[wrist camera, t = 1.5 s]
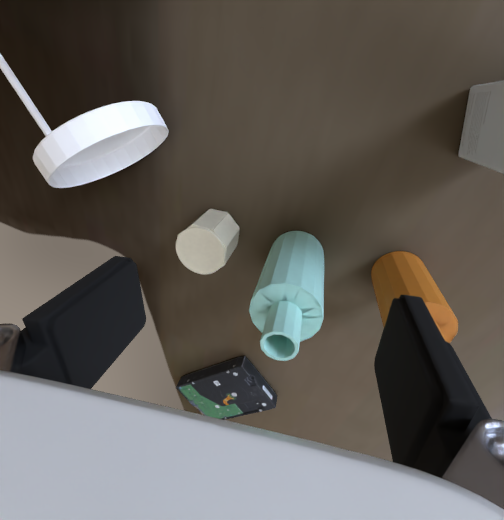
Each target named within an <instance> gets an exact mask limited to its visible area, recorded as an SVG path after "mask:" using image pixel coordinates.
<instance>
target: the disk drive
mask: <svg viewBox="0 0 504 520" xmlns="http://www.w3.org/2000/svg"><path fill="white" fill-rule="evenodd" d="M176 388H177V389H178V390H179V391H180V393H181V394H182V395H183V396H184V397H185V398H186V399H187V400H188V401H189V402H190V404H192V405H193V406H195V407H196V408H197V409H198V410H199V411H200V412H201V413H202V414H203V415H205V416H209V417H214V418H218V419H222V420H224V419H229V418H234V417H238V416H243V415H247V414H251V413H256V412H260V411H266V410H269V409H272V408H275V407H276V402H277V395H276V394H275V392H274V391H273V389H272V388H271V387H270V386H269V384H268V383H267V382H266V381H265V379H264V378H263V377H262V376H261V374H260V373H259V372H258V371H257V370H256V368H255V367H254V366H253V364H252V363H251V362H250V361H249V360H248V359H247V358H246V356H243V357H238V358H235V359H232V360H229V361H226V362H223V363H220V364H217V365H214V366H211V367H209V368H205V369H202V370H199V371H196V372H193V373H190V374H187V375H185V376H183V377H181V379H180V381H179V382H178V384H177V386H176Z"/></svg>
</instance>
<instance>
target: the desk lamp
mask: <svg viewBox="0 0 504 520" xmlns="http://www.w3.org/2000/svg"><path fill="white" fill-rule="evenodd" d="M0 68H1V70H2V71H3V73H4V74H5V76H6V77H7V79H8V80H9V82H10V83H11V85H12V86H13V88H14V89H15V91H16V92H17V94H18V95H19V97H20V98H21V100H22V101H23V103H24V104H25V106H26V107H27V109H28V110H29V112H30V113H31V115H32V116H33V118H34V119H35V121H36V122H37V124H38V125H39V127H40V128H41V130H42V131H43V133H44V134H45V136H46V137H45V138H44V139H43V140H42V141H41V142H40V143H39V144H38V146H37V147H36V149H35V151H34V155H33V161H34V164H35V165H36V166H37V168H38V169H39V171H40V172H41V174H42V175H43V177H44V178H45V179H46V181H47V182H48V184H49V185H50V186H52V187H56V188H68V187H74V186H79V185H83V184H86V183H90V182H93V181H96V180H99V179H101V178H104V177H106V176H109V175H111V174H114V173H116V172H118V171H120V170H122V169H124V168H126V167H128V166H130V165H132V164H134V163H135V162H137V161H139V160H140V159H142V158H144V157H145V156H146V155H148V154H149V153H151V152H152V151H153V150H155V149H156V148H157V147H158V146H159V145H160V144H161V143H162V142H163V141H164V140H165V139H166V137H167V136H168V132H169V130H168V128H167V126H166V124H165V123H164V121H163V119H162V117H161V115H160V114H159V112H158V110H157V108H156V107H155V106H154V105H152V104H150V103H148V102H143V101H126V102H120V103H114V104H110V105H107V106H103V107H100V108H97V109H94V110H92V111H89V112H87V113H84V114H81V115H79V116H77V117H76V118H74V119H72V120H70V121H68V122H66V123H64V124H63V125H61V126H60V127H58V128H57V129H55V130H53V131H51V129H50V128H49V126H48V125H47V123H46V122H45V120H44V118H43V117H42V115H41V114H40V112H39V111H38V109H37V108H36V106H35V105H34V103H33V102H32V100H31V99H30V97H29V96H28V94H27V93H26V91H25V90H24V88H23V87H22V85H21V84H20V82H19V81H18V79H17V78H16V76H15V74H14V73H13V71H12V70H11V68H10V67H9V65H8V64H7V62H6V61H5V59H4V58H3V56H2V55H1V53H0Z"/></svg>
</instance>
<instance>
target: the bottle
mask: <svg viewBox="0 0 504 520" xmlns="http://www.w3.org/2000/svg"><path fill="white" fill-rule="evenodd" d="M249 312H250V315H251V318H252V322H253V323H254V324H255V326H256V327H257V328H258V329H259V331H260V332H262V336H261V340H260V345H261V349H262V351H263V352H264V353H265V354H266V355H267V356H269V357H271V358H273V359H275V360H282V361H286V360H289V359H292V358H294V357H295V356H296V354H297V353H298V351H299V343H300V341H303V340H306V339H308V338H311V337H312V336H313V335H314V334H315V333H316V332H317V331H318V330H319V329H320V327H321V324H322V321H323V318H324V252H323V248H322V245H321V244H320V242H319V241H318V240H317V239H316V238H315V237H314V236H312V235H311V234H309V233H306V232H303V231H290V232H286V233H284V234H282V235H281V236H279V237H278V238H277V239H276V240H275V242H274V243H273V245H272V247H271V249H270V252H269V254H268V257H267V260H266V262H265V265H264V267H263V270H262V273H261V275H260V278H259V281H258V283H257V286H256V288H255V291H254V294H253V296H252V299H251V303H250V309H249Z"/></svg>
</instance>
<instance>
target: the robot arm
mask: <svg viewBox="0 0 504 520" xmlns="http://www.w3.org/2000/svg"><path fill="white" fill-rule="evenodd" d="M23 322H24V324H25V326H26V328H24V329H23V330H22V331H20V328H19V327H18V326H17V325H13V324H0V520H504V421H502V420H496V419H492V418H491V416H490V415H489V413H488V411H487V409H486V407H485V406H484V404H483V402H482V400H481V398H480V396H479V395H478V393H477V391H476V389H475V387H474V386H473V384H472V382H471V380H470V378H469V376H468V375H467V373H466V371H465V369H464V367H463V366H462V364H461V362H460V360H459V358H458V356H457V355H456V353H455V351H454V349H453V347H452V346H451V345H450V343H448V342H445V340H444V338H443V337H442V335H441V333H440V331H439V329H438V327H437V325H436V323H435V322H434V320H433V318H432V316H431V314H430V312H429V310H428V308H427V306H426V305H425V303H424V301H423V299H422V298H421V297H418V296H410V295H403V294H402V295H400V297H399V298H394V299H393V300H392V303H391V307H390V310H389V313H388V317H387V320H386V323H385V327H384V330H383V333H382V337H381V340H380V343H379V347H378V350H377V354H376V357H375V364H374V366H375V373H376V378H377V383H378V388H379V393H380V398H381V403H382V408H383V413H384V418H385V423H386V429H387V434H388V439H389V444H390V449H391V454H392V459H393V462H391V461H388V460H385V459H381V458H377V457H373V456H369V455H365V454H361V453H358V452H354V451H350V450H346V449H342V448H338V447H334V446H330V445H326V444H322V443H318V442H314V441H310V440H306V439H302V438H298V437H293V436H289V435H285V434H281V433H277V432H272V431H268V430H264V429H260V428H256V427H251V426H247V425H243V424H239V423H235V422H231V421H226V420H222V419H218V418H214V417H209V416H205V415H201V414H196V413H192V412H188V411H184V410H179V409H175V408H171V407H166V406H162V405H158V404H153V403H149V402H145V401H140V400H136V399H132V398H127V397H123V396H119V395H114V394H110V393H105V392H101V391H96V390H92V389H91V388H92V387H93V386H94V384H95V383H96V382H97V381H98V380H99V379H100V377H101V376H102V375H103V374H104V373H105V372H106V370H107V369H108V368H109V367H110V366H111V365H112V363H113V362H114V361H115V360H116V358H117V357H118V356H119V355H120V354H121V353H122V352H123V350H124V349H125V348H126V347H127V346H128V345H129V343H130V342H131V341H132V340H133V339H134V337H135V336H136V335H137V334H138V333H139V332H140V330H141V329H142V328H143V327H144V324H145V322H146V315H145V310H144V304H143V298H142V293H141V287H140V281H139V276H138V270H137V265H136V263H134V262H133V260H132V259H131V258H127V257H118V256H115V257H113V258H111V259H110V260H108V261H107V262H105V263H104V264H102V265H101V266H100V267H98V268H96V269H95V270H94V271H92V272H91V273H89V274H88V275H86V276H85V277H83V278H82V279H80V280H79V281H77V282H76V283H74V284H73V285H71V286H70V287H68V288H67V289H65V290H64V291H62V292H61V293H60V294H58V295H57V296H55V297H54V298H52V299H51V300H49V301H48V302H46V303H45V304H43V305H42V306H40V307H39V308H37V309H36V310H34V311H33V312H31V313H30V314H28V315H27V316H26V317H24V318H23Z"/></svg>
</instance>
